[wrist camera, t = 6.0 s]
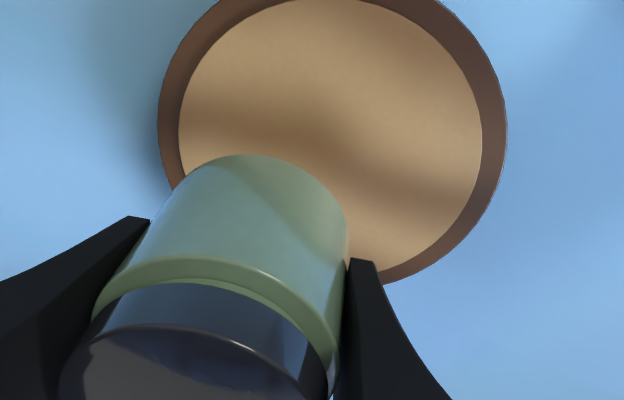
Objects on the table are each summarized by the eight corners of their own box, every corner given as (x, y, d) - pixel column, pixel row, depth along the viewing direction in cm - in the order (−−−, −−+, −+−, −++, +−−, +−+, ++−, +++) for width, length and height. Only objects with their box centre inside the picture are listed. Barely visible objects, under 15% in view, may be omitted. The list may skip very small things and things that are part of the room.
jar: (332, 321, 17) (311, 531, 11) (166, 290, 17) (61, 482, 11) (366, 172, 14) (362, 353, 8) (166, 136, 14) (24, 289, 8)
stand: (440, 282, 24) (447, 319, 22) (175, 231, 24) (155, 262, 22) (547, -5, 17) (571, 7, 15) (180, -72, 18) (153, -69, 15)
